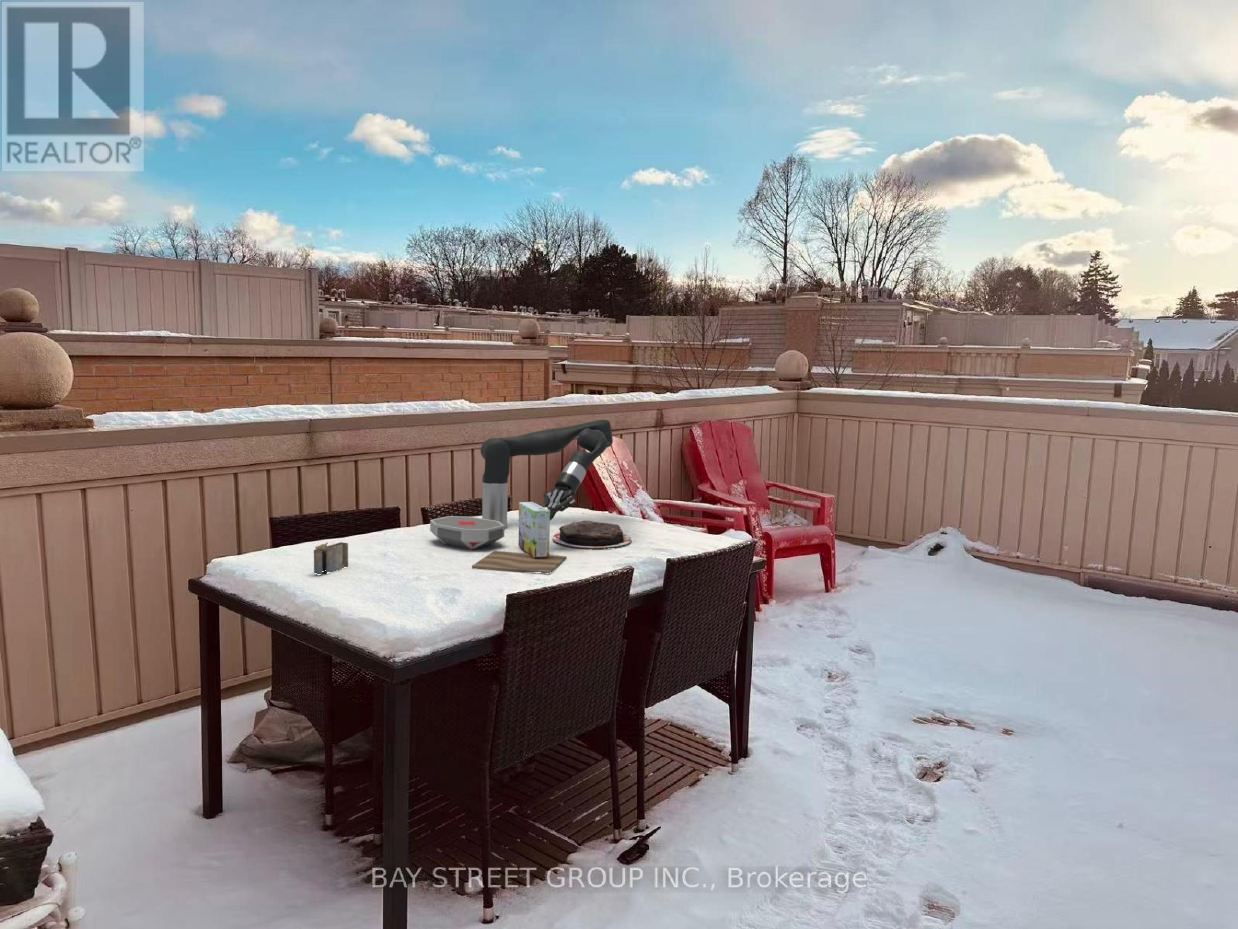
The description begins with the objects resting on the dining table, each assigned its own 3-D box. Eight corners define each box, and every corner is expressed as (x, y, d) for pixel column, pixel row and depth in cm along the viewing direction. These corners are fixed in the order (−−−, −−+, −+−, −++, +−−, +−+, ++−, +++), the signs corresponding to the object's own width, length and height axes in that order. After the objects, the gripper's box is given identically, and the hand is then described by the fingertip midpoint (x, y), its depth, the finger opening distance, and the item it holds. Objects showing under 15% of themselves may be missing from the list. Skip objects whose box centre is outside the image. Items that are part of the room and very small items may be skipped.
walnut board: (494, 553, 257) (494, 550, 257) (566, 558, 252) (566, 556, 252) (471, 568, 237) (472, 565, 237) (549, 574, 233) (549, 571, 233)
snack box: (516, 546, 266) (518, 501, 265) (532, 546, 268) (534, 501, 267) (532, 558, 247) (534, 510, 246) (550, 557, 249) (552, 509, 248)
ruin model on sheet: (322, 577, 223) (322, 544, 222) (314, 576, 224) (313, 542, 223) (349, 568, 234) (349, 536, 233) (341, 567, 235) (340, 535, 234)
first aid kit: (420, 543, 267) (478, 554, 254) (421, 521, 266) (478, 531, 253) (456, 535, 282) (512, 545, 269) (456, 514, 281) (512, 523, 268)
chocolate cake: (605, 555, 261) (606, 535, 260) (536, 543, 275) (536, 524, 274) (645, 540, 285) (645, 522, 284) (579, 530, 299) (580, 513, 298)
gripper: (591, 487, 268) (567, 528, 260) (560, 482, 276) (536, 522, 267) (581, 473, 263) (557, 515, 255) (551, 469, 271) (526, 509, 262)
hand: (547, 519), depth 261 cm, fingers closed
